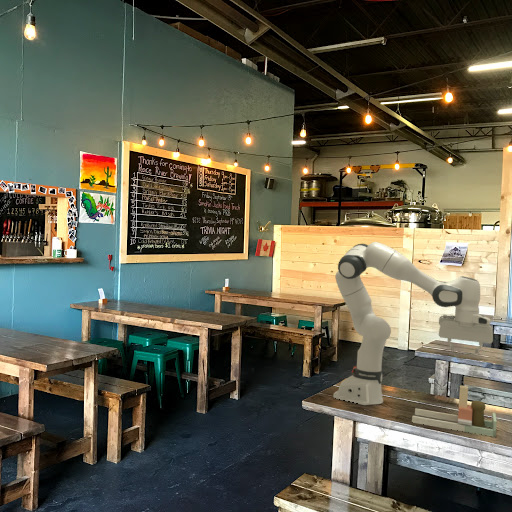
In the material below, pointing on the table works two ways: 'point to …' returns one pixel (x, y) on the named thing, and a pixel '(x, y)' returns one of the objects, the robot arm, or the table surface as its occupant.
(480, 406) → the olive rounded upright piece
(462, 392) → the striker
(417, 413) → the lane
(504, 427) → the table surface
